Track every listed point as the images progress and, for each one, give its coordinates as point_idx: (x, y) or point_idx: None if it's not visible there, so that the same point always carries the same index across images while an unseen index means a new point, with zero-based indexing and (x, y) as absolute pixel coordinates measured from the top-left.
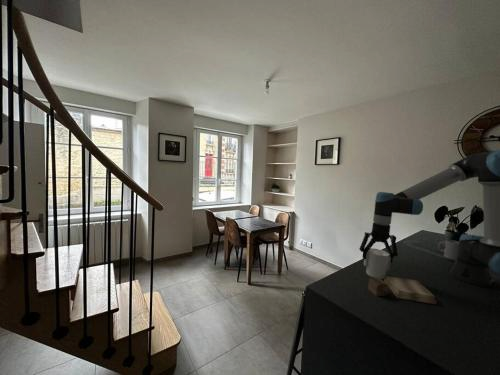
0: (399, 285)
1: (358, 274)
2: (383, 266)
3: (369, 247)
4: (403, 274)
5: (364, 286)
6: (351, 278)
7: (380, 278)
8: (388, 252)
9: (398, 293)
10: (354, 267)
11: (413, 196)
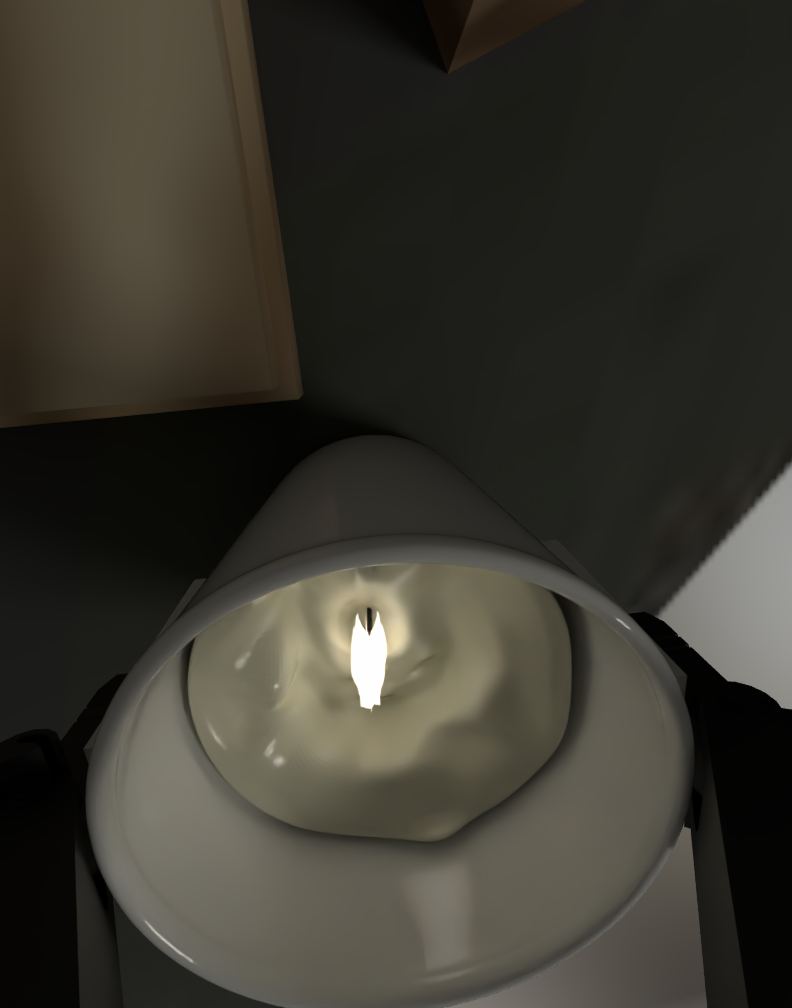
0: (121, 47)
1: (596, 456)
2: (305, 486)
3: (780, 870)
4: (20, 717)
5: (629, 70)
6: (734, 277)
7: (339, 440)
8: (102, 909)
9: None
10: None
11: None
